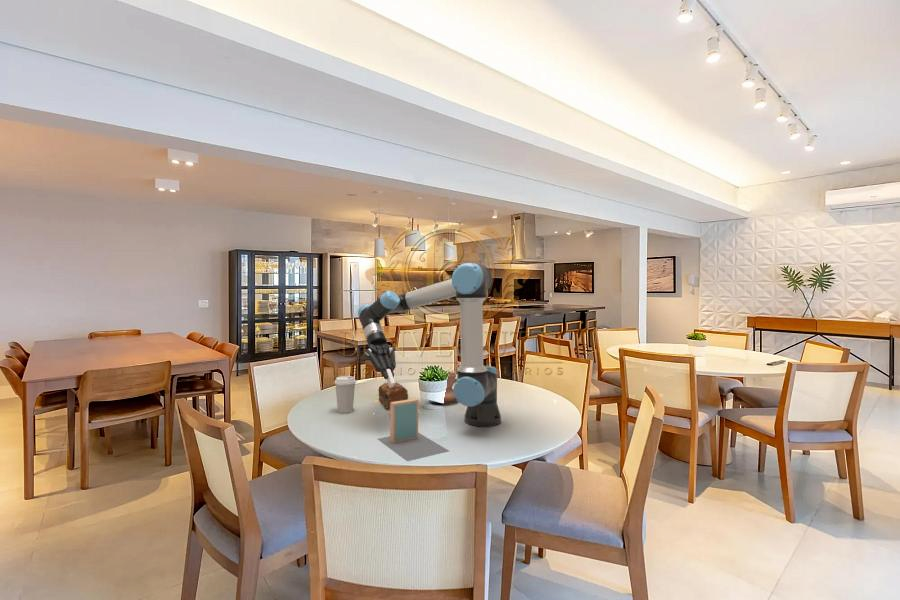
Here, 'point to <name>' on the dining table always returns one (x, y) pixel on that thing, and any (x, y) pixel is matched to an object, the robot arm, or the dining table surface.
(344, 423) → the dining table surface
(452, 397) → the ceramic jug
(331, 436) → the dining table surface
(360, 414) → the dining table surface
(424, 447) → the mat
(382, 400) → the bread
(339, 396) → the coffee cup
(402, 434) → the tile
